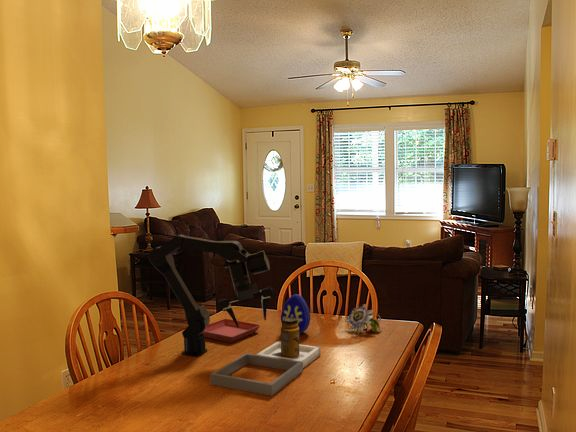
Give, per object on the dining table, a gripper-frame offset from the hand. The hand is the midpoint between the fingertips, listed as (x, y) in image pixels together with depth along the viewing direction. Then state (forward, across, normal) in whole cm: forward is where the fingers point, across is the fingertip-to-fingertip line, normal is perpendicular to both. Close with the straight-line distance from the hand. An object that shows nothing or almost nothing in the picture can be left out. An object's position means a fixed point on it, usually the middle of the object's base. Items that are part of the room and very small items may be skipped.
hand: (251, 323), depth 172 cm
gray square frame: (+14, -2, -16) cm, 22 cm away
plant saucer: (+4, -9, +29) cm, 30 cm away
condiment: (+13, +9, -2) cm, 16 cm away
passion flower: (+15, +42, +26) cm, 52 cm away
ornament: (+10, +16, +26) cm, 33 cm away
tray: (+14, +9, -1) cm, 17 cm away
